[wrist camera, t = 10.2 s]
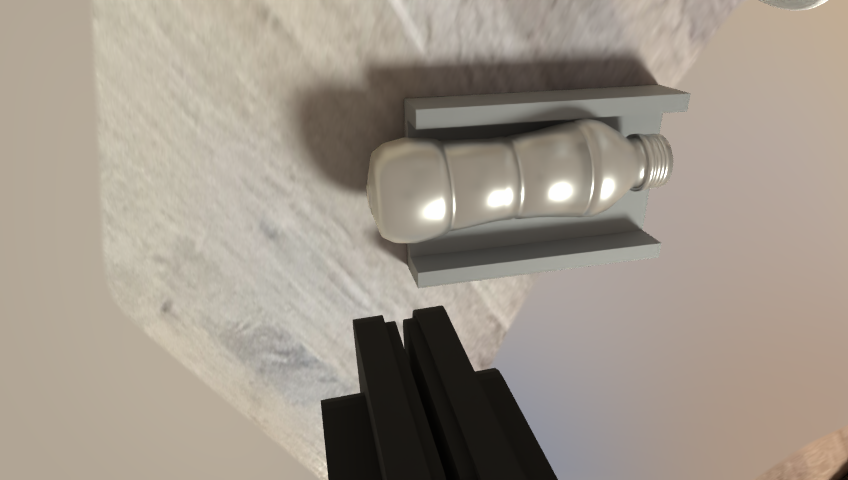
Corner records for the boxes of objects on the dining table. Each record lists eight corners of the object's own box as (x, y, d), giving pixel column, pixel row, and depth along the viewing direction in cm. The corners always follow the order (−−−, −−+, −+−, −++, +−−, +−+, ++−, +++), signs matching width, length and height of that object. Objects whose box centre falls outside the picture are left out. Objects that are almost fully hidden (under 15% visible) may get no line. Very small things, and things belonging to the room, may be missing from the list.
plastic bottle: (379, 265, 33) (680, 222, 37) (369, 153, 31) (693, 119, 34) (367, 228, 39) (627, 194, 43) (357, 131, 37) (635, 104, 40)
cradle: (404, 98, 37) (416, 109, 34) (658, 84, 41) (690, 93, 38) (407, 265, 42) (418, 288, 39) (632, 238, 46) (658, 257, 43)
